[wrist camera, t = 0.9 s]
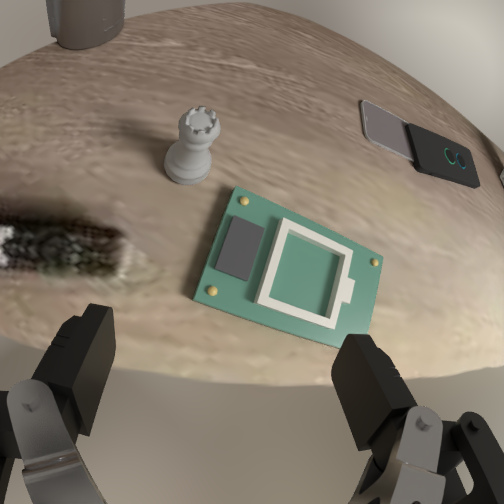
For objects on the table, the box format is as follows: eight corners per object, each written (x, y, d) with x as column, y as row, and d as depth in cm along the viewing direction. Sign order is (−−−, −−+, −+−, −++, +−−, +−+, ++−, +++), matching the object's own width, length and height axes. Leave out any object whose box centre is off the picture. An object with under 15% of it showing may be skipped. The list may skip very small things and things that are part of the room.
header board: (192, 300, 26) (195, 299, 24) (232, 190, 29) (239, 181, 27) (355, 353, 30) (368, 355, 28) (376, 258, 34) (389, 255, 31)
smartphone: (436, 173, 41) (366, 138, 36) (432, 174, 42) (362, 141, 37) (428, 134, 43) (361, 97, 38) (425, 137, 44) (358, 101, 39)
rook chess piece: (204, 191, 28) (225, 151, 21) (158, 181, 27) (164, 136, 20) (213, 152, 29) (236, 104, 22) (169, 141, 28) (180, 90, 21)
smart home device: (481, 187, 45) (421, 168, 38) (475, 190, 46) (413, 172, 40) (470, 148, 46) (407, 120, 39) (464, 151, 48) (400, 125, 41)
